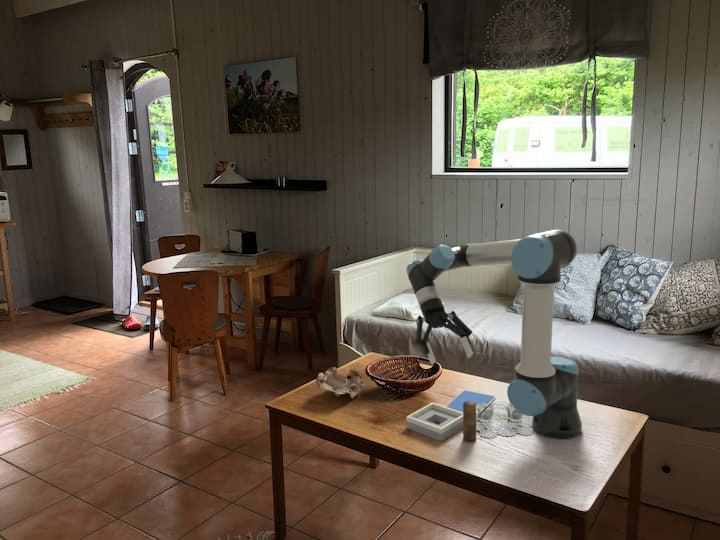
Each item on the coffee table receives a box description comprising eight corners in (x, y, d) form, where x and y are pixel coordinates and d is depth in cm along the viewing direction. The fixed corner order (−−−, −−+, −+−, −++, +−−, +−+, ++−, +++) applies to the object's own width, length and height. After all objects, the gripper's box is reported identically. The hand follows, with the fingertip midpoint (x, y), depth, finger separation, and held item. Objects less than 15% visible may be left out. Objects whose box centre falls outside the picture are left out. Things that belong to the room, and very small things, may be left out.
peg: (478, 439, 190) (478, 403, 187) (471, 443, 187) (471, 407, 184) (467, 435, 192) (467, 399, 190) (460, 439, 190) (460, 404, 187)
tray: (467, 425, 199) (467, 413, 198) (441, 441, 189) (441, 429, 188) (432, 413, 209) (432, 402, 208) (406, 427, 199) (406, 416, 198)
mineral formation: (334, 408, 213) (345, 383, 212) (302, 386, 221) (312, 361, 220) (368, 404, 232) (378, 381, 231) (337, 384, 240) (346, 361, 239)
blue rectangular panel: (475, 421, 203) (475, 417, 203) (441, 413, 210) (441, 409, 209) (496, 399, 219) (496, 396, 218) (463, 392, 225) (463, 389, 225)
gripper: (458, 303, 212) (481, 358, 202) (393, 312, 203) (413, 370, 193) (466, 292, 206) (490, 348, 196) (399, 301, 198) (421, 360, 187)
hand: (452, 359), depth 195 cm, fingers open, 13 cm apart
